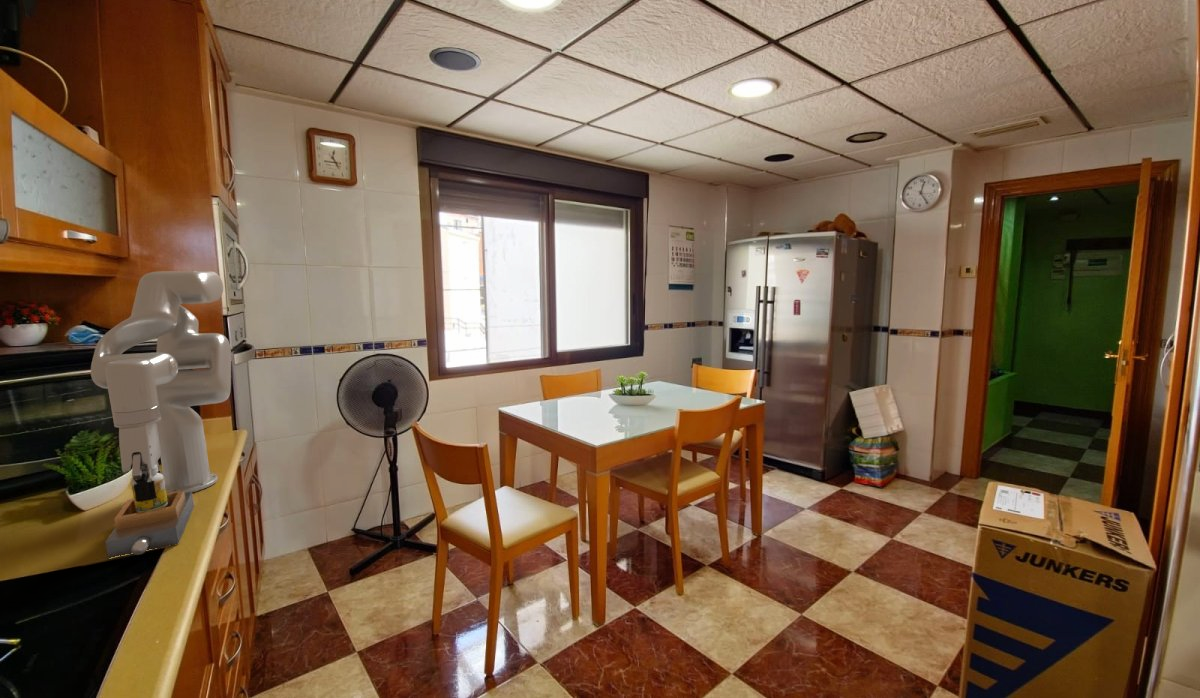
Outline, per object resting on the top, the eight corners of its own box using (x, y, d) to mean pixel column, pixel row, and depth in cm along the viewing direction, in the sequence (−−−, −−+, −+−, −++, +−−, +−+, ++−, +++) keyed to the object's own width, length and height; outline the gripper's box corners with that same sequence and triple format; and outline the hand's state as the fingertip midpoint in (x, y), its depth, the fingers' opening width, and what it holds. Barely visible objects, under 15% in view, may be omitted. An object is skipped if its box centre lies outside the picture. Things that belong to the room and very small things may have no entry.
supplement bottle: (171, 500, 116) (165, 461, 114) (163, 511, 111) (156, 470, 109) (141, 505, 113) (134, 465, 112) (131, 516, 109) (124, 474, 107)
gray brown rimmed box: (134, 518, 118) (130, 492, 117) (193, 506, 124) (190, 481, 123) (104, 567, 99) (98, 537, 98) (175, 551, 105) (171, 522, 103)
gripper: (125, 408, 114) (137, 484, 117) (100, 430, 99) (115, 515, 102) (168, 404, 118) (179, 476, 121) (150, 423, 103) (163, 505, 106)
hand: (149, 493), depth 111 cm, fingers closed on supplement bottle, 5 cm apart
